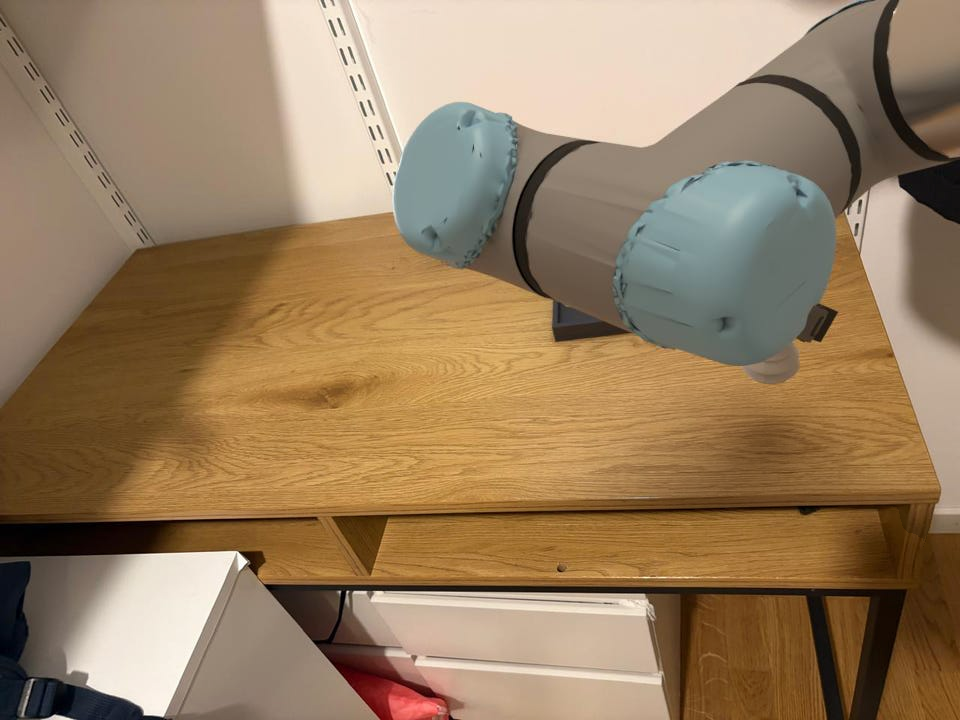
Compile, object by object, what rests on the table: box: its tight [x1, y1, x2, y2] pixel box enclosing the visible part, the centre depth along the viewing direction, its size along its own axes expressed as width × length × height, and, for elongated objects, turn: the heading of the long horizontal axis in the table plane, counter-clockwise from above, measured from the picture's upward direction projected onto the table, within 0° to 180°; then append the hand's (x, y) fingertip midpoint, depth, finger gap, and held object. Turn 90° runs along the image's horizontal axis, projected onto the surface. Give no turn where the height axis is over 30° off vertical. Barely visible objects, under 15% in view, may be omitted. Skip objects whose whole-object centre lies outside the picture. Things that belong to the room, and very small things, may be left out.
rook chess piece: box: [741, 341, 801, 385], centre depth 58 cm, size 4×4×8 cm
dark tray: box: [551, 299, 631, 342], centre depth 85 cm, size 13×13×2 cm
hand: (803, 314), depth 60 cm, fingers closed on rook chess piece, 3 cm apart
